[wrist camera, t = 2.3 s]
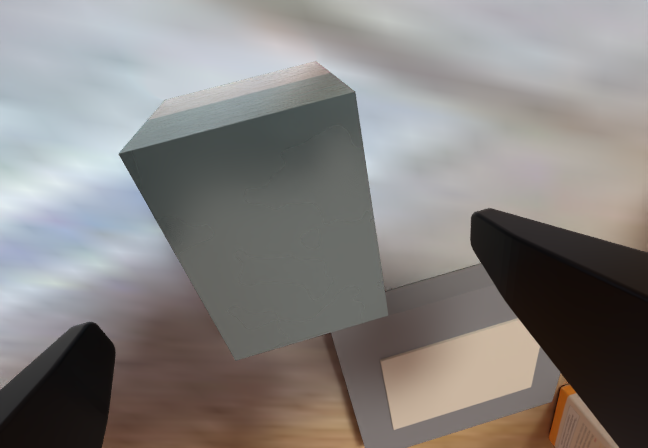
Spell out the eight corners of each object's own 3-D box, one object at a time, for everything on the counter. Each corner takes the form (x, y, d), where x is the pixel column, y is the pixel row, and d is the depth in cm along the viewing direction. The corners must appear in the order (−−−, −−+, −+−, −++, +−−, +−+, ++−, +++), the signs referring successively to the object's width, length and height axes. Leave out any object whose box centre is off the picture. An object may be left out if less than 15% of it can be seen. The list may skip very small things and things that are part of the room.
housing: (315, 60, 12) (355, 91, 7) (349, 231, 15) (388, 315, 11) (165, 99, 11) (118, 153, 7) (238, 262, 15) (235, 360, 11)
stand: (569, 237, 18) (596, 256, 17) (536, 381, 25) (553, 403, 24) (324, 309, 17) (331, 335, 16) (362, 436, 24) (368, 461, 23)
